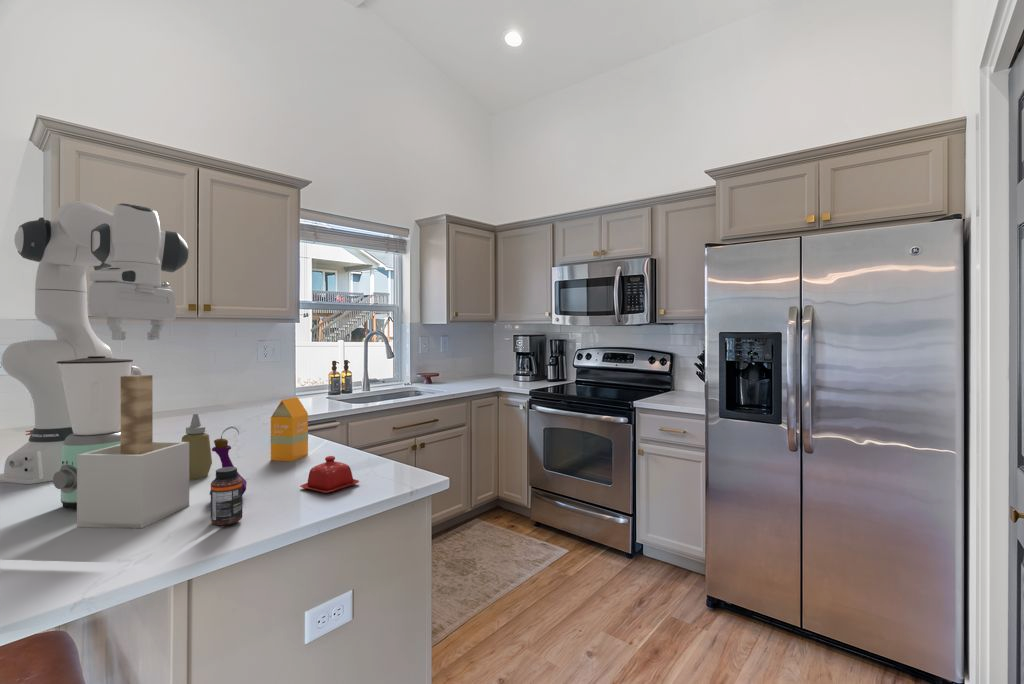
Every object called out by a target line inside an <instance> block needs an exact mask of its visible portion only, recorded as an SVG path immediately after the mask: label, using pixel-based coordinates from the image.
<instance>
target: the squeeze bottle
mask: <svg viewBox="0 0 1024 684" xmlns="http://www.w3.org/2000/svg"><path fill="white" fill-rule="evenodd" d="M191 418H192V419H191V420H190V421H191V422H190V426H186V427H185V435H182V437H181V441H180V442H189V481H190V480H192V481H193V480H199V479H203V478H207V477H208V476H209V473H210V470H211V467H212V465H213V459H212V448H211V441H210V434H208V433H207V432H206V425H202V424H201V421H200V416H199V413H193V414H192V417H191Z"/></svg>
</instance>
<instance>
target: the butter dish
mask: <svg viewBox="0 0 1024 684" xmlns="http://www.w3.org/2000/svg"><path fill="white" fill-rule="evenodd" d="M335 460H336V457H335V456H333V455H328V456H326V457H325V458H324V461H325V462H322V463H320V464H317V465H315V466H313V467H312V468H311V469H310V470H309V473H308V478H307V482H306V483H303V484H300V485H299V486H300V487H301V488H303V489H308V490H312V491H316V492H320V493H325V494H330V493H329V492H331V493H333V492H332V491H334V492H335V490H337V491H339V490H338V489H340V490H342V489H344V488H349V487H351V486H353V485H356V484H358V483H360V480H358V479H355V478H354V477H353V476H354V475H353V473H352V469H351V467H350V465H349V464H347V463H345V462H340V461H335ZM348 486H349V487H348ZM341 488H342V489H341Z"/></svg>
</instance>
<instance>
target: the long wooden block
mask: <svg viewBox="0 0 1024 684" xmlns="http://www.w3.org/2000/svg"><path fill="white" fill-rule="evenodd" d="M153 410H154V409H153V374H146V375H145V374H143V375H132V374H131V376H121V454H128V455H141V454H145V453H148V452H152V451H153V441H154V440H153V439H154V438H153V425H154V424H153V423H154V422H153V412H154V411H153Z"/></svg>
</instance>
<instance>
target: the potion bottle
mask: <svg viewBox="0 0 1024 684" xmlns="http://www.w3.org/2000/svg"><path fill="white" fill-rule="evenodd" d="M230 429H235V430H236V432H237V434H238V435H240V431H239V429H238V428H237V427H235V426H233V425H232V426H228V427H227V428H225V429H224V430H223V431H222V433H221V436H220V438H216V439H215V440H213V443H214V444H213V445H214V447H212V448H211V452H215V454H216V455H217V456H218V457H219V459H220V463H221V468H223V467H235V466H234V464H233V462H232V460H231V458H230V456H229V451H230V450H231V449H232V446H231V445H228V444H229V441H228V439H227V438H223V435H224V433H225V432H226V431H228V430H230ZM237 475H238V477H240V478H241V479H242V496H244V494H245V493H246V491H247V480H246V479H245V478H243V476H242V475H241V474H240V473H239V472H238V471H237ZM209 495H210V496H211V489H210V491H209Z"/></svg>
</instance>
